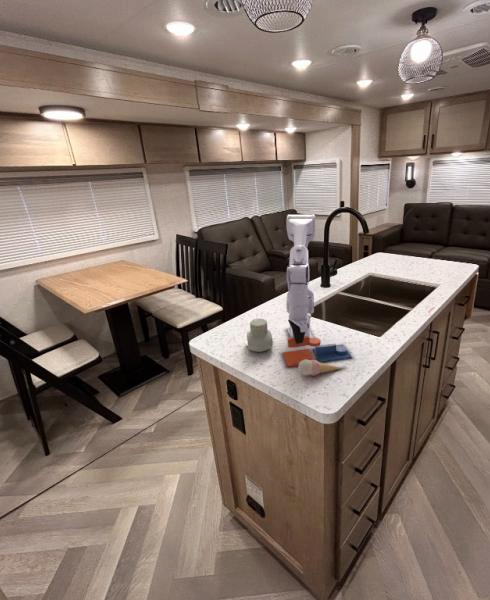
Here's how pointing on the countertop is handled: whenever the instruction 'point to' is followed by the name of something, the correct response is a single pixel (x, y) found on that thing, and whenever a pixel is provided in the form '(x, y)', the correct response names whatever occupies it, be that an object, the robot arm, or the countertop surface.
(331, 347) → the blue spoon
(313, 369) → the ice cream cone
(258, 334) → the air freshener
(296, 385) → the countertop surface
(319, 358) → the blue mat
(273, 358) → the countertop surface
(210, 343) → the countertop surface
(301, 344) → the terracotta spoon
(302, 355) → the terracotta mat
